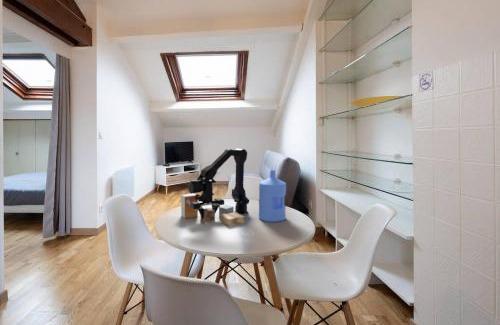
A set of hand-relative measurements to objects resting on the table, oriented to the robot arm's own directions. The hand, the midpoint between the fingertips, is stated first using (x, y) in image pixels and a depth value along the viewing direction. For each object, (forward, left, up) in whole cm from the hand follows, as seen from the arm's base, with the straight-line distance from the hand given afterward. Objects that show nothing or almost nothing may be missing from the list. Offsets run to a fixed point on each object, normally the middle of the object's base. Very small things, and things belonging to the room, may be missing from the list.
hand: (207, 218), depth 144 cm
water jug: (-33, +17, -1) cm, 37 cm away
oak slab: (-10, +10, -1) cm, 14 cm away
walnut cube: (0, 0, -1) cm, 1 cm away
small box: (+6, -12, -1) cm, 13 cm away
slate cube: (-12, 0, -1) cm, 12 cm away
